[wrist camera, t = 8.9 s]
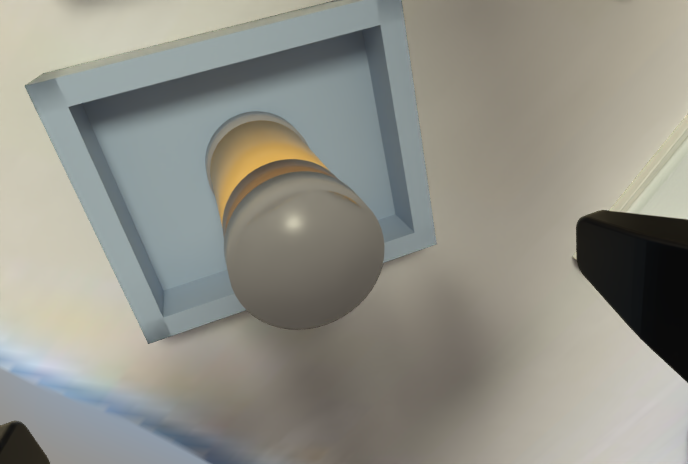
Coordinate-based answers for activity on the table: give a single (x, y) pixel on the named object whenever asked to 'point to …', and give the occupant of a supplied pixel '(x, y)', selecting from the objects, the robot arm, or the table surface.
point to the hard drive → (661, 181)
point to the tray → (207, 116)
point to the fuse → (289, 225)
